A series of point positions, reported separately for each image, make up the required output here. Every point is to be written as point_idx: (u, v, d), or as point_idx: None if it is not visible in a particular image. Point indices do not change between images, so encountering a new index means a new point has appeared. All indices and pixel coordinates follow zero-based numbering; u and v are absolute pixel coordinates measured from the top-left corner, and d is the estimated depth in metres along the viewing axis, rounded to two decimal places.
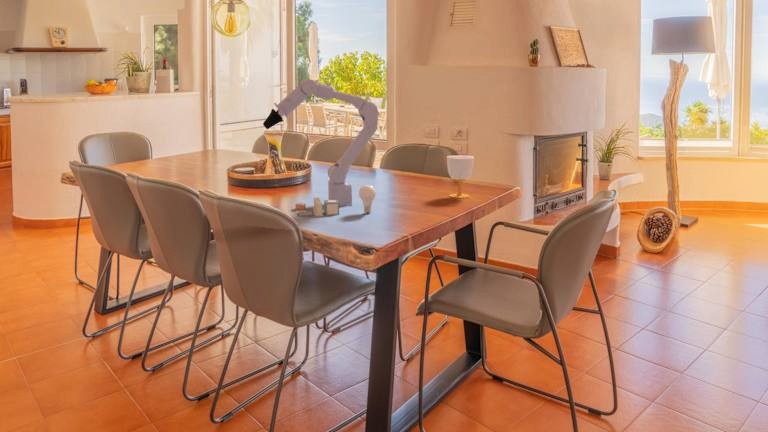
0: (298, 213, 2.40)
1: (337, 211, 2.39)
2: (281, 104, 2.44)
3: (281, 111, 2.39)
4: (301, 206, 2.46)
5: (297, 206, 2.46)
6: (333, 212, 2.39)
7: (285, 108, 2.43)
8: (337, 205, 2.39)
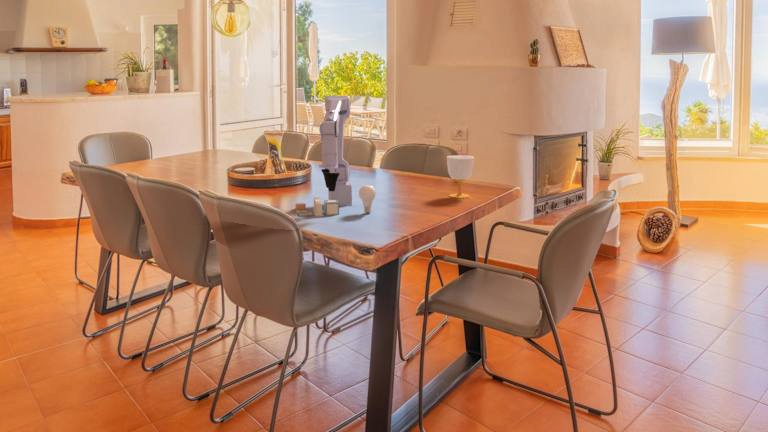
0: (298, 213, 2.40)
1: (337, 211, 2.39)
2: (325, 162, 2.35)
3: (331, 169, 2.31)
4: (301, 206, 2.46)
5: (297, 206, 2.46)
6: (333, 212, 2.39)
7: (330, 162, 2.34)
8: (337, 205, 2.39)
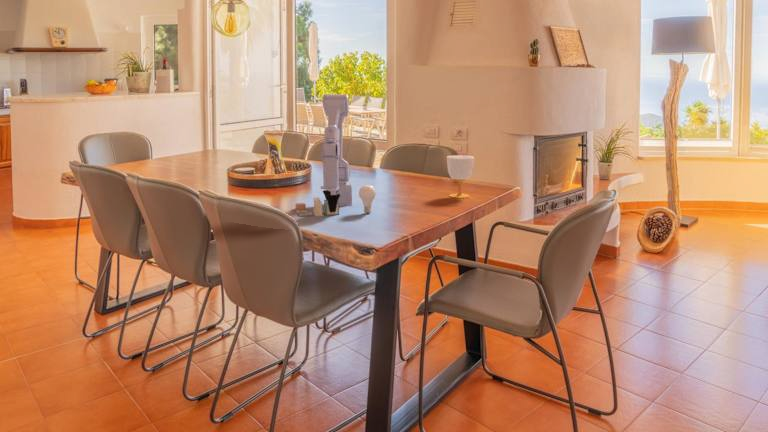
0: (298, 213, 2.40)
1: (337, 211, 2.39)
2: (326, 184, 2.37)
3: (332, 191, 2.32)
4: (301, 206, 2.46)
5: (297, 206, 2.46)
6: None
7: (332, 184, 2.36)
8: (337, 204, 2.39)
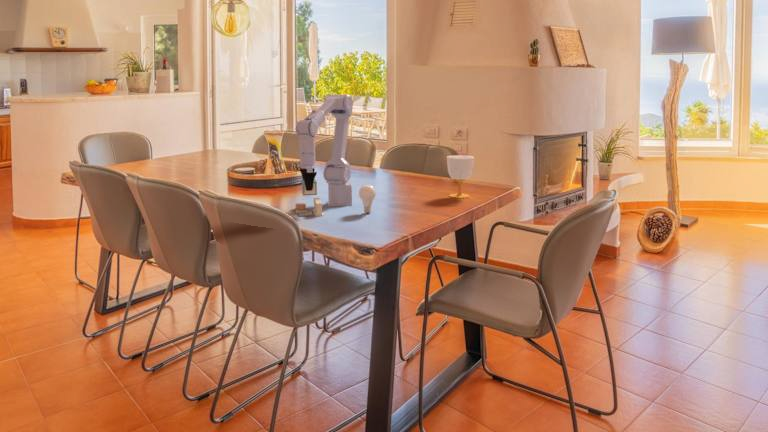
0: (298, 213, 2.40)
1: (315, 191, 2.36)
2: (302, 162, 2.33)
3: (308, 168, 2.29)
4: (301, 206, 2.46)
5: (297, 206, 2.47)
6: (311, 191, 2.36)
7: (308, 162, 2.33)
8: (314, 184, 2.35)
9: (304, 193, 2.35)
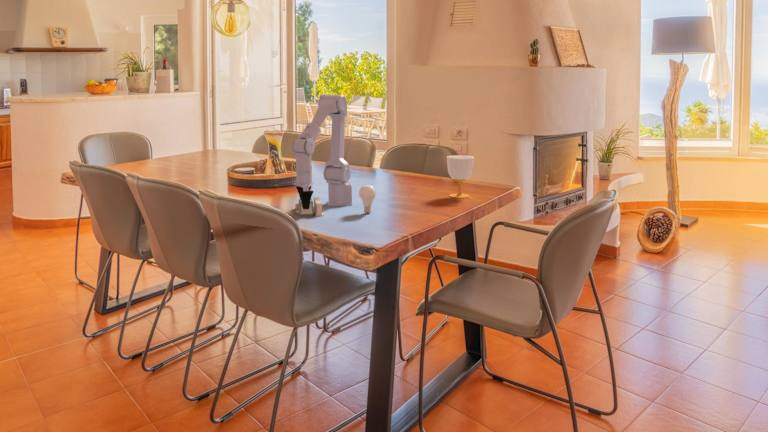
0: (298, 213, 2.40)
1: (311, 210, 2.37)
2: (299, 180, 2.34)
3: (304, 187, 2.30)
4: None
5: (296, 206, 2.47)
6: (307, 211, 2.37)
7: (304, 180, 2.34)
8: (311, 204, 2.37)
9: (300, 213, 2.37)
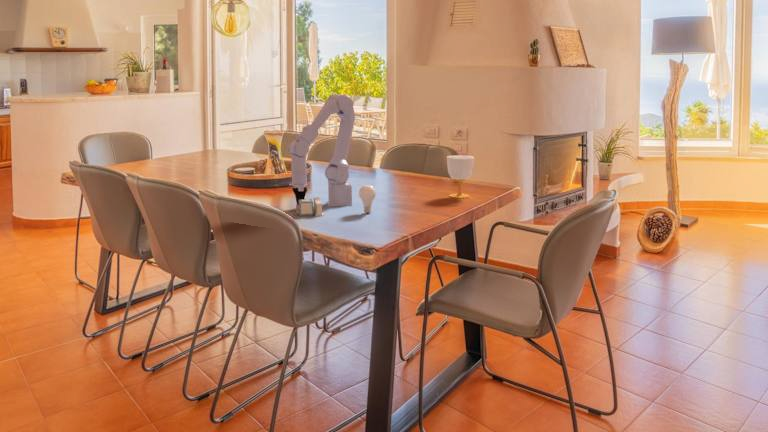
0: (298, 213, 2.40)
1: (311, 210, 2.37)
2: (294, 180, 2.45)
3: (299, 187, 2.41)
4: None
5: (296, 206, 2.46)
6: (307, 211, 2.37)
7: (299, 180, 2.45)
8: (311, 204, 2.37)
9: (300, 213, 2.37)
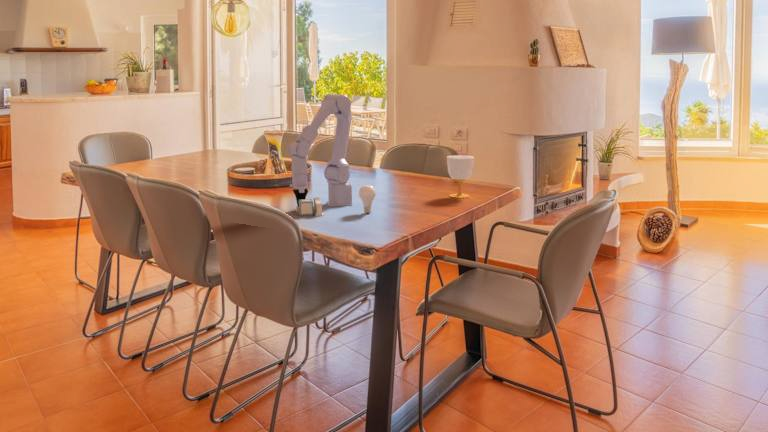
0: (298, 213, 2.40)
1: (311, 210, 2.37)
2: (295, 182, 2.42)
3: (300, 189, 2.38)
4: None
5: (296, 208, 2.43)
6: (307, 211, 2.37)
7: (300, 182, 2.42)
8: (311, 204, 2.37)
9: (300, 213, 2.37)
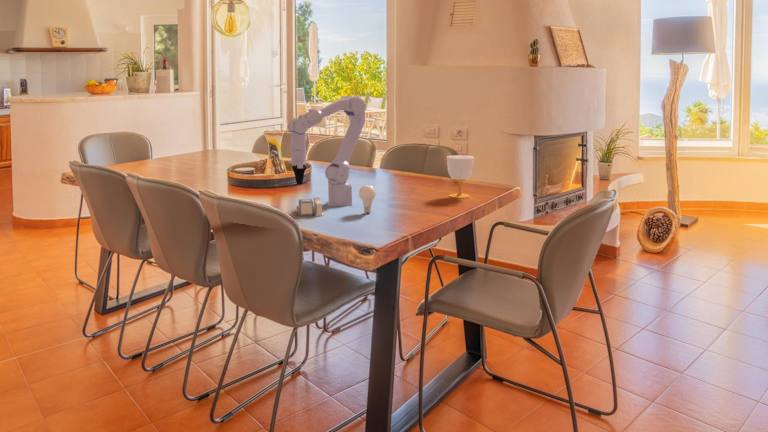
0: (298, 213, 2.40)
1: (311, 210, 2.37)
2: (293, 158, 2.44)
3: (298, 164, 2.39)
4: None
5: (296, 208, 2.43)
6: (307, 211, 2.37)
7: (299, 158, 2.43)
8: (311, 204, 2.37)
9: (300, 213, 2.37)
